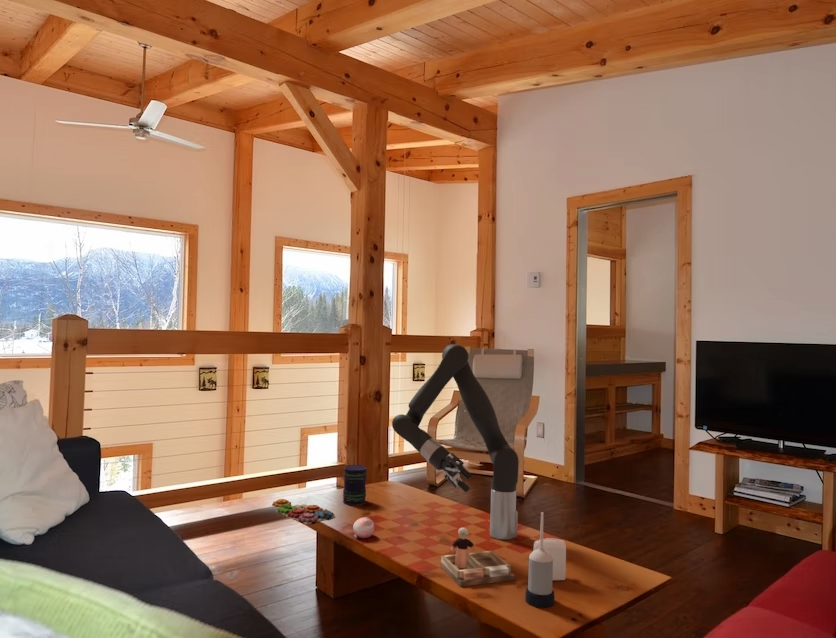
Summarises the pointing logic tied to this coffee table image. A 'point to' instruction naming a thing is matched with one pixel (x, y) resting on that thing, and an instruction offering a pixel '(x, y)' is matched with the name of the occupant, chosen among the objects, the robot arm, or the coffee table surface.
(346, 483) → the storage jar
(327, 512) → the gear puzzle
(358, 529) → the onion
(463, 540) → the grandmother figurine
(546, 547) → the photo printer
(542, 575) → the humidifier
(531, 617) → the coffee table surface
